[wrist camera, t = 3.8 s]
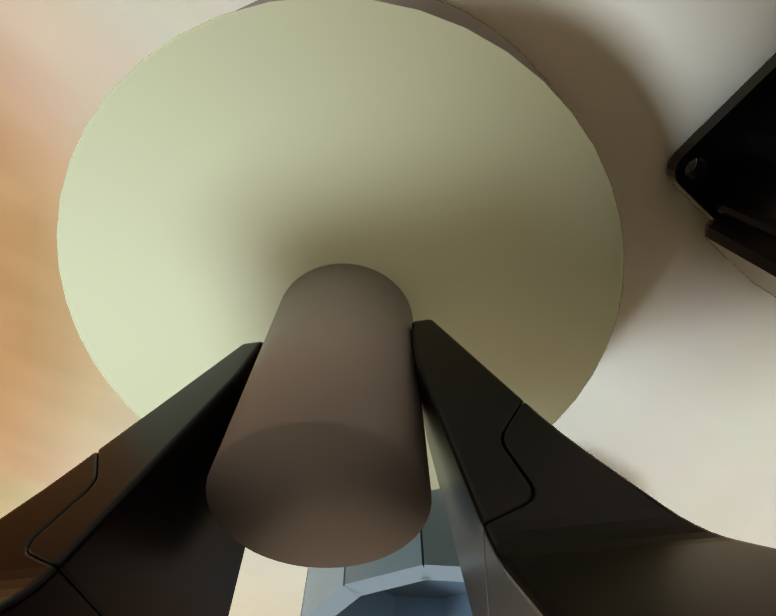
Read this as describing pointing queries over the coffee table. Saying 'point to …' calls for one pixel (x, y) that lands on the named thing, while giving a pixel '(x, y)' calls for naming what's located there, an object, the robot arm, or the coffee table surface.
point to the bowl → (396, 579)
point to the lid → (335, 252)
